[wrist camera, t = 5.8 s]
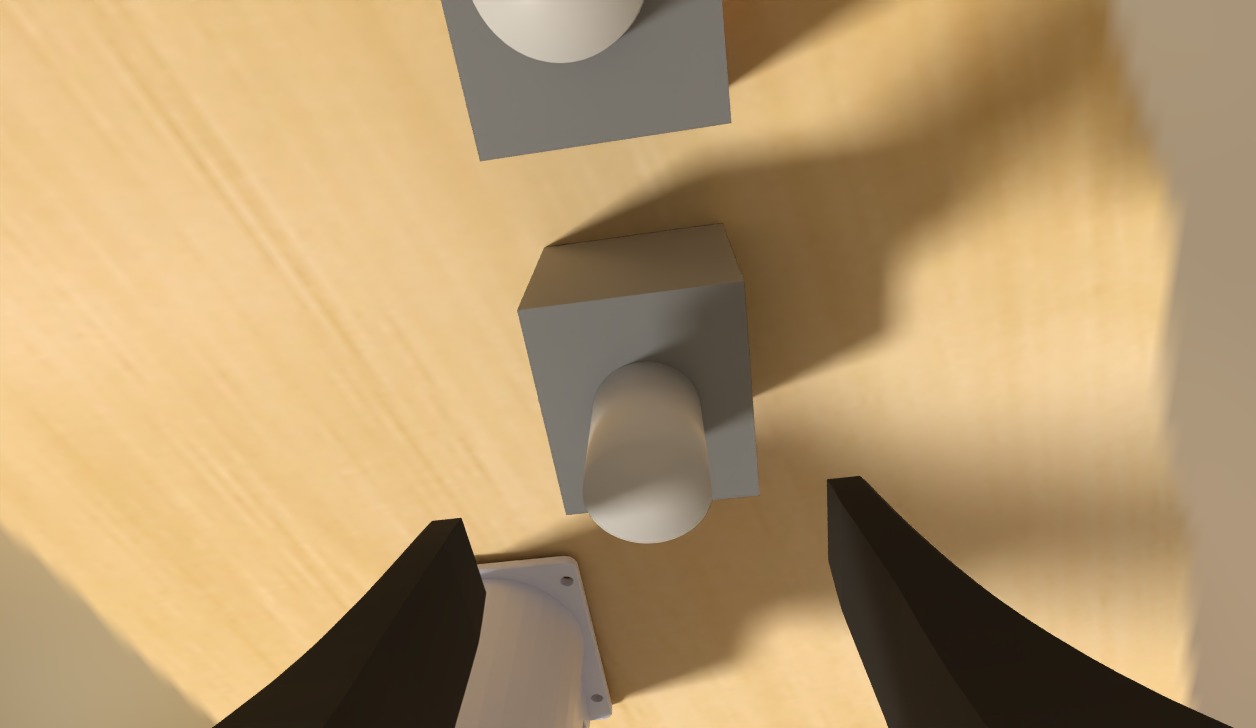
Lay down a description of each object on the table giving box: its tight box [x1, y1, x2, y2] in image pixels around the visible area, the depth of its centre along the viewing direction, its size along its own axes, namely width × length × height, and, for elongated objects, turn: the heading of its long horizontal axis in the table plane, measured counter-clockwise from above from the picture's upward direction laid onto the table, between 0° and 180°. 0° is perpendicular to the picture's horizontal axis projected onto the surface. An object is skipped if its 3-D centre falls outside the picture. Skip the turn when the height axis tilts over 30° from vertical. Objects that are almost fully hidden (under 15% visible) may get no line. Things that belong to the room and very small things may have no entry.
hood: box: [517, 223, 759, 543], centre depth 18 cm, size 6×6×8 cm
